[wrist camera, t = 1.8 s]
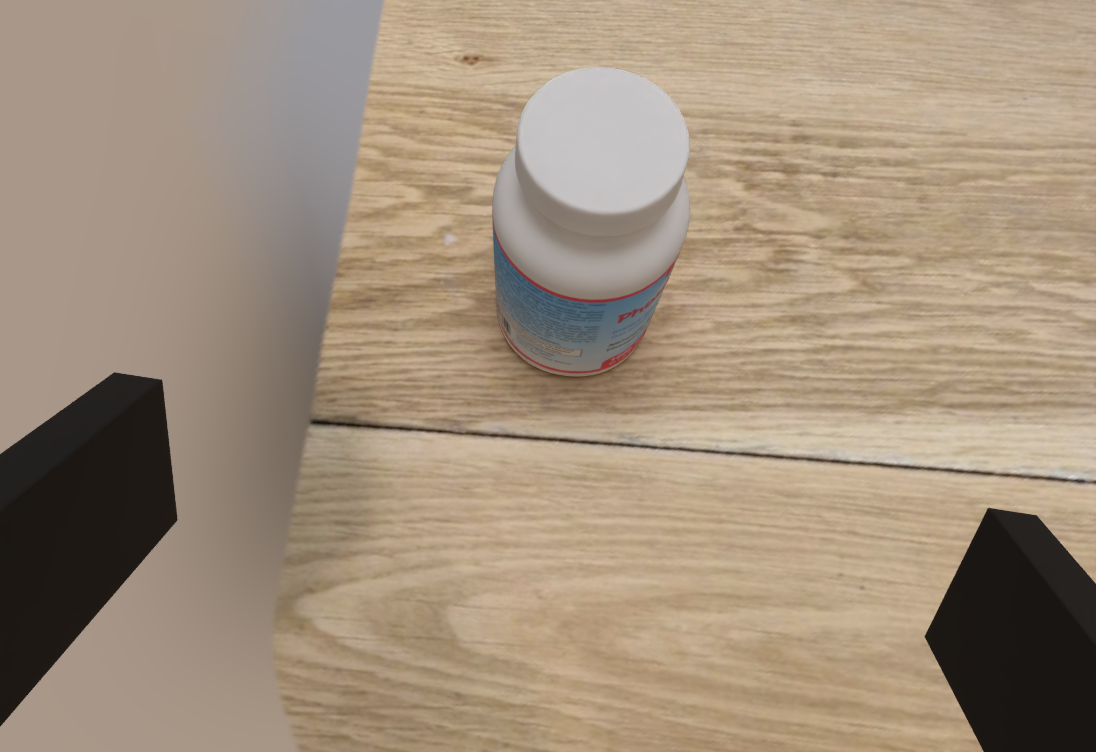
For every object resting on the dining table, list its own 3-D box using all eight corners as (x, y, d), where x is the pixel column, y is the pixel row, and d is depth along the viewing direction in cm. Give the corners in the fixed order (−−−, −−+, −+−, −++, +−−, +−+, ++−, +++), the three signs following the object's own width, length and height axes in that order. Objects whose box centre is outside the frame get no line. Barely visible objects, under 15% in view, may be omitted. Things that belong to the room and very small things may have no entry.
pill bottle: (633, 395, 29) (703, 262, 18) (481, 363, 29) (462, 212, 18) (657, 260, 31) (734, 68, 20) (515, 230, 31) (516, 24, 20)
